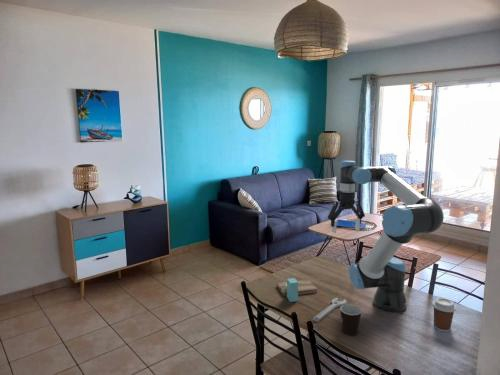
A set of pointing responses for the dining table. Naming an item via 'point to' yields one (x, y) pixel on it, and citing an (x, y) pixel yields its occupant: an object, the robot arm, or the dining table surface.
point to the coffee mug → (350, 319)
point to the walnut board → (299, 287)
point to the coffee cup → (443, 313)
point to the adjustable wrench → (329, 309)
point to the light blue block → (292, 289)
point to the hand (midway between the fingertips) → (345, 231)
